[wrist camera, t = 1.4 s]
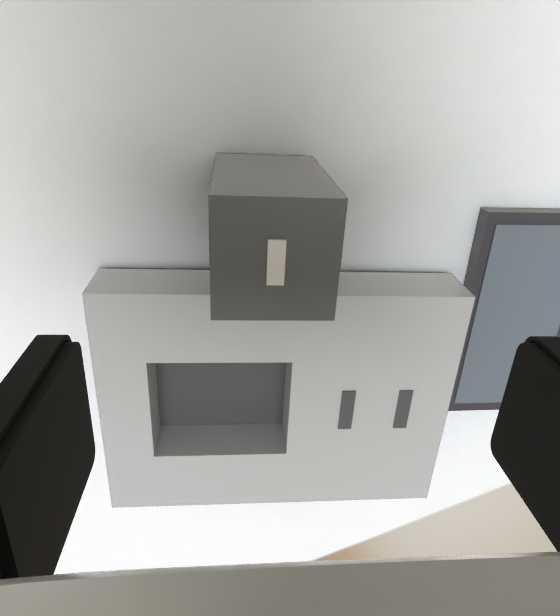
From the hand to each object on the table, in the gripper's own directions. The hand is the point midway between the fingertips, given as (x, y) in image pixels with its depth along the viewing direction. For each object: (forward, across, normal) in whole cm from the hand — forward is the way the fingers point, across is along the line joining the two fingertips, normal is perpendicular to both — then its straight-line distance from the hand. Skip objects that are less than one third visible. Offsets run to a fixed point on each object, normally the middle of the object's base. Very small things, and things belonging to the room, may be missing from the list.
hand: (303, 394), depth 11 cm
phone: (+16, -14, +5) cm, 21 cm away
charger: (+15, 0, -1) cm, 15 cm away
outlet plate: (+15, -1, +9) cm, 18 cm away
